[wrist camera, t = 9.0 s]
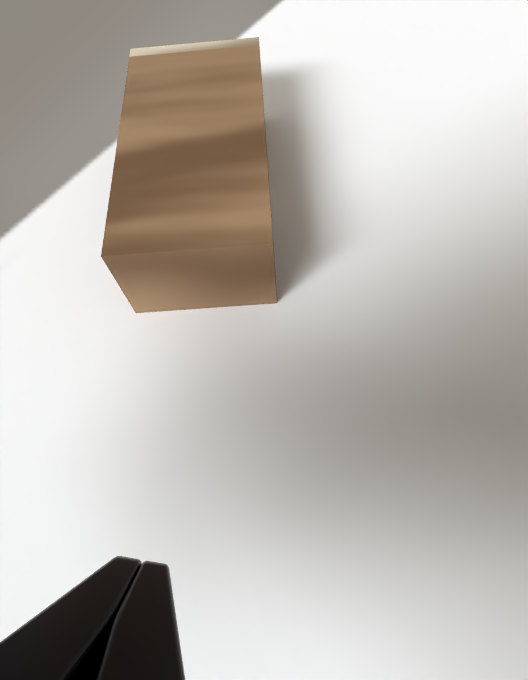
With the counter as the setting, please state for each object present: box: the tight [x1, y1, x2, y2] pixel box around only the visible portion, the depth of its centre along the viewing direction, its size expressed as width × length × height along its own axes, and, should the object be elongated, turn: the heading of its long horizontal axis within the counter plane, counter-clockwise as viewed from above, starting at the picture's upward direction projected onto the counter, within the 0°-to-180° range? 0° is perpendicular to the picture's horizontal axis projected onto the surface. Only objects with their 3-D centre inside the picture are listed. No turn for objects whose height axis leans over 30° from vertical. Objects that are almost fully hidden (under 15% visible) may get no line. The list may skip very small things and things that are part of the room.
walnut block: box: [101, 37, 277, 313], centre depth 20 cm, size 4×6×12 cm
